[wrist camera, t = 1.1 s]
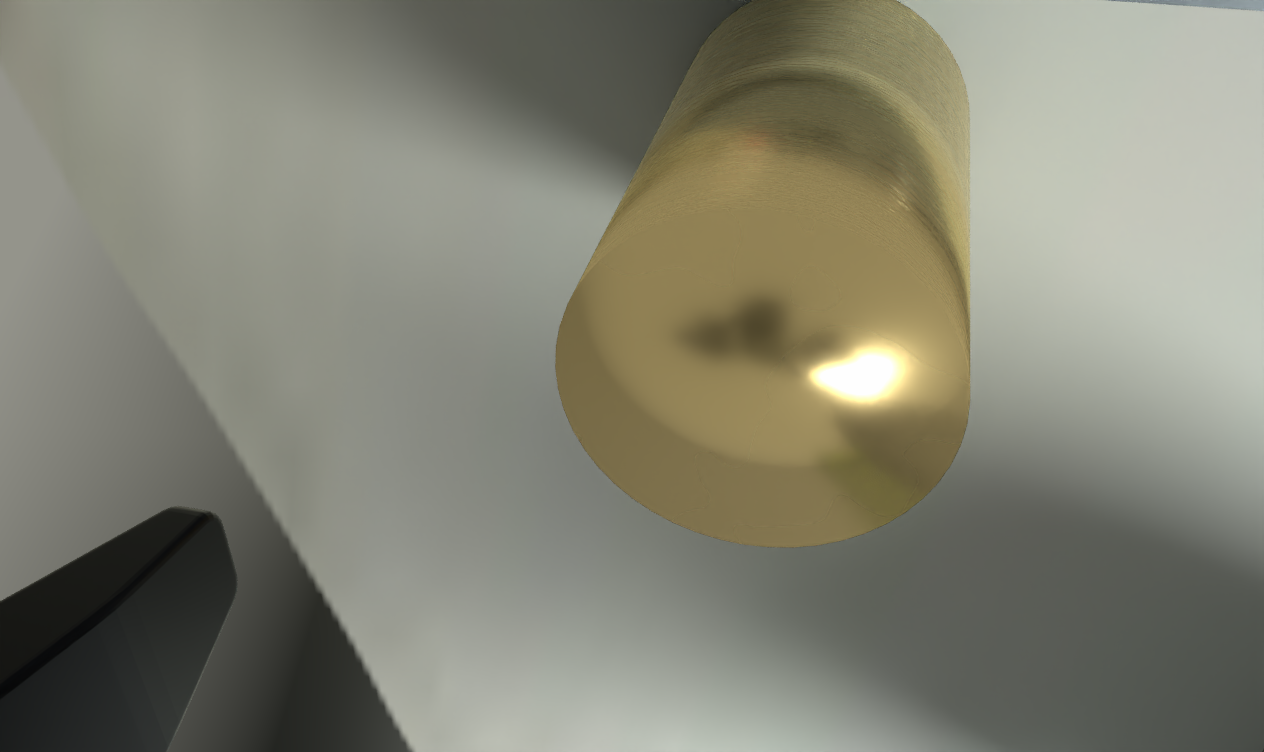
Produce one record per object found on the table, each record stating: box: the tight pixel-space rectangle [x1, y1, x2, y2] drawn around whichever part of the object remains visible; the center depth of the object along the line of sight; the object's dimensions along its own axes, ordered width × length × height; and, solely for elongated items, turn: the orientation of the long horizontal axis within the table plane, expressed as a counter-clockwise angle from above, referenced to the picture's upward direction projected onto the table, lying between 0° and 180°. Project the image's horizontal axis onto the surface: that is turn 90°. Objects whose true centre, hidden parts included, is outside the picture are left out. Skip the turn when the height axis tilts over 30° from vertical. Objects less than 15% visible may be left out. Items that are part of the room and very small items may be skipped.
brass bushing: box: [555, 0, 970, 548], centre depth 15 cm, size 4×4×7 cm
